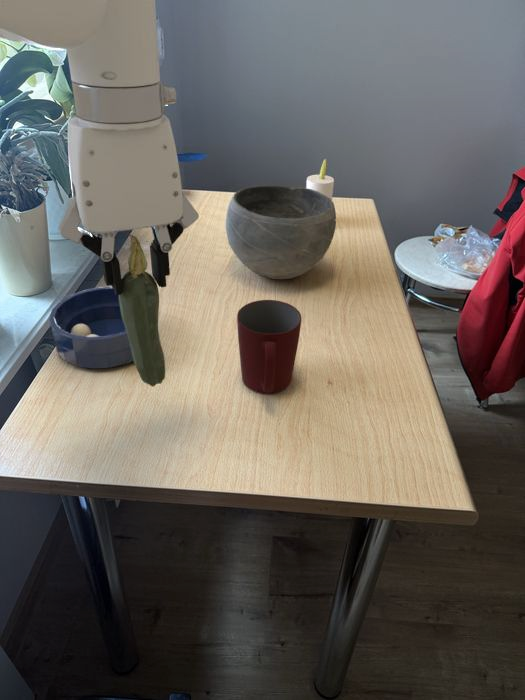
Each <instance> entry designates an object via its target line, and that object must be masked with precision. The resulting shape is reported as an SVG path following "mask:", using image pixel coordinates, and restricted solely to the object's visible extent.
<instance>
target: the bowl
mask: <svg viewBox="0 0 525 700" xmlns="http://www.w3.org/2000/svg"><path fill="white" fill-rule="evenodd" d="M336 220H337V212H336V207H335V204H334V201H333V199H332V200H331V199H330V198H328V197H327V196H325V195H323V194H321V193H320V192H318V191H315V190H312V189H308V188H306V187H303V186H293V185H282V184H280V185H278V184H262V185H254V186H248V187H244V188H243V187H242V188H241V189H239V190H237V191H236V192H234V194H233V195H232V196H231V199H230V202H229V203H228V206H227V211H226V216H225V233H226V237H227V242H228V244H229V246H230V247H229V248H230V249H231V250H232V252H233V253H234V256H236V258H237V260H239V261H240V262H241V263H242V265H243V266H245V267H246V268H247V269H248V270H251V271H252V272H253V273H256V274H258V275H259V276H263V277H265V278H268V279H270V280H271V279H272V280H290V279H295V278H297V277H299V276H302V275H304V274H306V273H307V272H309V271H311V270H312V269H313V268H314V267H315V266H316V265H318V263H320V261H321V260H322V259H323V258H324V257H325V255H326V253H327V252H328V251H329V248H330V246H331V245H332V242H333V239H334V236H335V231H336V226H337V221H336Z"/></svg>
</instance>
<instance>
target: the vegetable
mask: <svg viewBox="0 0 525 700" xmlns="http://www.w3.org/2000/svg"><path fill="white" fill-rule="evenodd" d="M129 237H130V245H129V248H128V250H129V251H128V259H127V264H128V271H126V272H125V273H124V274H123V275H122V276H121V279H122V287H123V293H122V294H121V295H119V304H120V311H121V316H122V320H123V323H124V326H125V329H126V332H127V336H128V339H129V344H130V347H131V351H132V357H133V363H134V366H135V368H136V371H137V373H138V375H139V378H140V379H141V381H142V382H143V383H145V384H147V385H149V386H151V388H153V387H155V386H156V385H161V384H162V383H163V381H164V380H165V378H166V361H165V354H164V351H163V347H162V345H161V339H160V332H159V313H160V311H159V310H160V293H159V292H160V291H159V286H158V284H157V282H156V281H155V279H154V278H153V275H152V274H150V273H149V272H148V271H146V270H147V269H148V260H147V258H146V255H145V253H144V250H143V248H142V246H141V242H140V240H139V239H138V238H137V236H135V235H133V234H129Z"/></svg>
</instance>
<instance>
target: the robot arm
mask: <svg viewBox="0 0 525 700" xmlns="http://www.w3.org/2000/svg"><path fill="white" fill-rule="evenodd" d="M157 25H158V24H157V8H156V0H0V39H3V40H8V41H12V42H16V43H17V42H18V43H23V44H28V45H31V46H34V47H38V48H41V49H46V50H51V51H53V50H54V51H64V50H66V53H67V60H68V66H69V75H70V80H71V86H72V87H71V88H72V93H73V101H74V107H75V113H76V116H74V117H71V118H69V119H68V121H67V153H68V154H67V156H68V167H69V177H70V186H71V193H72V200H71V202H70V204H69V205H68V208H67V210H66V212H65V214H64V216H63V218H62V220H61V222H60V224H59V225H58V231H59V233H60V236H61V237H62V238H64V239H66V240H69V241H72V242H73V243H76V244H79V245H82V246H83V247H84V248H86V250H88V251H90V252H91V253H93V254H95V255H96V256H97V257H99V258H100V260H101V268H102V274H103V279H104V283H105V285H106V287H112V288H113V290H114V292H115V294H116V295H121V294H122V293H123V287H122V271H121V265H120V264H121V263H120V260H119V259H118V257H117V255H116V252H115V240H116V233H117V232H123V231H124V232H126V231H132V230H141V229H148V228H150V230H151V235H152V237H153V240H152V242H151V243H150V245H149V254H150V264H151V276H152V277H153V278H154V280H155V282H156V284H157V286H158V288H166V287H167V276H170V275H171V269H170V256H169V255H170V252H171V251H172V249H173V245H174V244H175V242H176V241H177V240H178V239H179V238H180V237H181V235H182V234H183V233H184V231H185V229H188V228H189V227H190V226H192V225H193V224H194V223H195V222H196V221H198V220H199V217H200V215H199V213H198V211H197V210H196V209H195V207H194V206H193V205H192V203H191V202H190V201H189V200H188V198H187V197H186V195H185V194H184V193H183V186H182V177H181V171H180V165H179V157H178V152H177V147H176V146H177V145H176V142H175V137H174V132H173V128H172V124H171V122H170V119H169V118H168V116H167V115H166V114H165V109H166V106H169V105H170V104H176V103H177V101H178V95H177V90H176V88H175V87H168V86H166V85H164V84H163V82H162V81H161V74H160V71H161V69H160V58H159V57H160V56H159V41H158V26H157ZM80 224H82V227H83V228H81V227H79V226H80Z"/></svg>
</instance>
